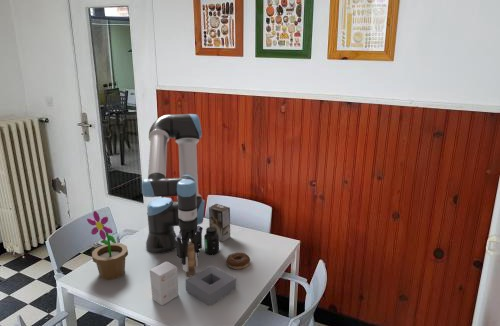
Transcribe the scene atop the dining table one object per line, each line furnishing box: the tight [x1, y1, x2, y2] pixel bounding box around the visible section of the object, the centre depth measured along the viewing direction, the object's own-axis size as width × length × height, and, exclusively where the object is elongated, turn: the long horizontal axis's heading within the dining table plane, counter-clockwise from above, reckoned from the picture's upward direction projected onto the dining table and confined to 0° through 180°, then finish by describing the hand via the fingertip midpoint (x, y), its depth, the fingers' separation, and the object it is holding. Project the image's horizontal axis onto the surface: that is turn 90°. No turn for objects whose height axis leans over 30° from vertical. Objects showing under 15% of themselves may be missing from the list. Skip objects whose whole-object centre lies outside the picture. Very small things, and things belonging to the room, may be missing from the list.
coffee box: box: [208, 203, 231, 242], centre depth 192 cm, size 9×6×16 cm
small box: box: [149, 261, 179, 306], centre depth 146 cm, size 8×6×13 cm
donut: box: [225, 251, 251, 270], centre depth 170 cm, size 11×11×4 cm
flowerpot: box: [86, 210, 129, 280], centre depth 159 cm, size 14×14×30 cm
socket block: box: [185, 264, 237, 307], centre depth 152 cm, size 14×14×5 cm
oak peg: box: [185, 241, 196, 277], centre depth 161 cm, size 4×4×14 cm
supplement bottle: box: [203, 226, 220, 256], centre depth 178 cm, size 7×7×12 cm
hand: (190, 267), depth 163 cm, fingers closed on oak peg, 4 cm apart
